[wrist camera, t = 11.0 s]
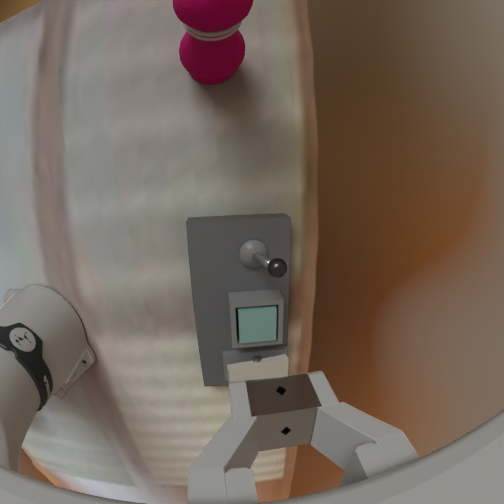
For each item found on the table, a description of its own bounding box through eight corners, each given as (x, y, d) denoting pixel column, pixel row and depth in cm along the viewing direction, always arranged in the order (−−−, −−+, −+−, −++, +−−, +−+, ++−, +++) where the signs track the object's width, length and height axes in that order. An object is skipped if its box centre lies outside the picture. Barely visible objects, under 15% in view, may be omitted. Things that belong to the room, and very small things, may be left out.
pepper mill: (171, 68, 30) (133, -18, 11) (209, 29, 29) (210, -72, 10) (215, 99, 32) (219, 26, 13) (253, 59, 31) (293, -31, 12)
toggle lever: (261, 262, 35) (290, 278, 29) (246, 264, 34) (273, 282, 29) (261, 245, 34) (291, 259, 29) (245, 247, 33) (273, 262, 28)
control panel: (281, 367, 44) (289, 392, 38) (204, 373, 42) (204, 400, 37) (284, 213, 37) (297, 222, 31) (188, 217, 36) (183, 227, 30)
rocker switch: (282, 374, 40) (287, 381, 38) (227, 385, 38) (230, 393, 36) (283, 350, 38) (288, 357, 37) (225, 360, 36) (228, 369, 35)
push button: (271, 327, 38) (276, 340, 35) (237, 330, 37) (239, 343, 34) (271, 297, 36) (276, 308, 33) (236, 300, 36) (238, 311, 33)
